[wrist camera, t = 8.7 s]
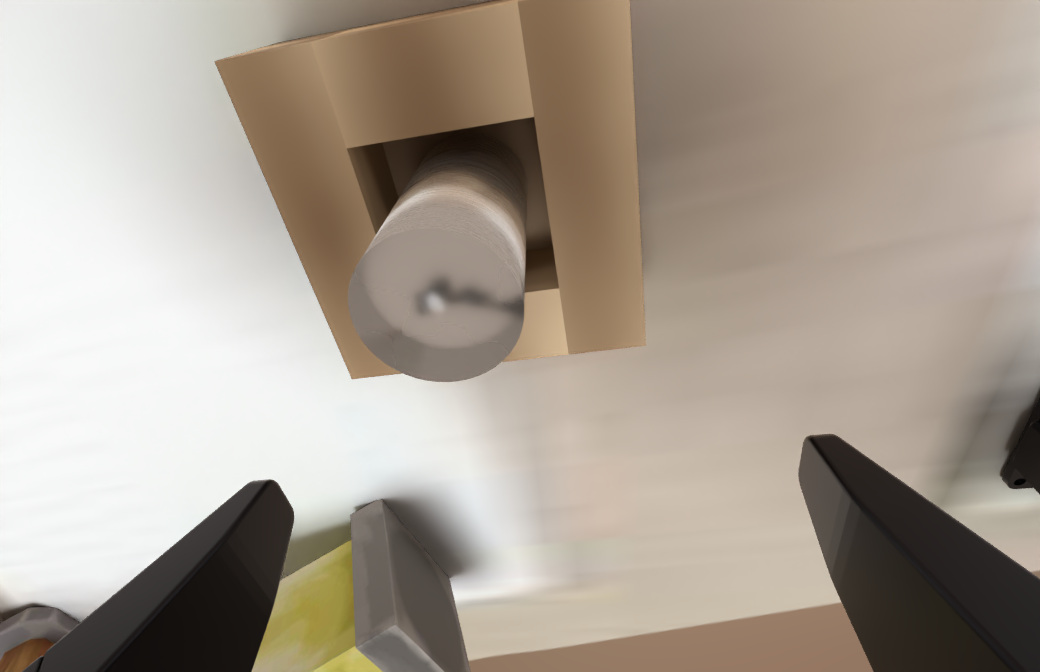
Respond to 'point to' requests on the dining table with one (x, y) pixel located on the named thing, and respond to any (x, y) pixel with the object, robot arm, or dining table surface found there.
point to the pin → (448, 265)
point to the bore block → (451, 110)
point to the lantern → (326, 611)
